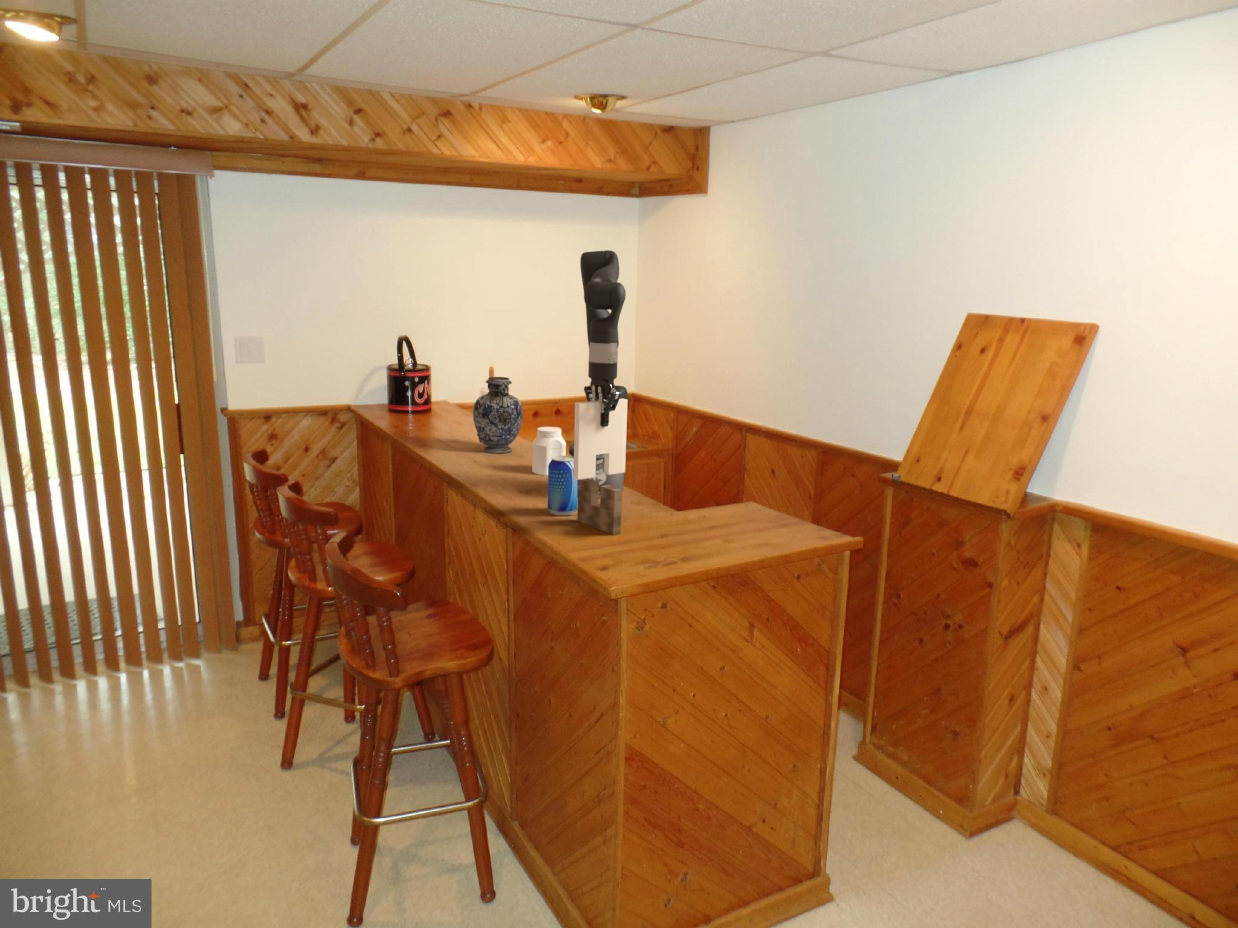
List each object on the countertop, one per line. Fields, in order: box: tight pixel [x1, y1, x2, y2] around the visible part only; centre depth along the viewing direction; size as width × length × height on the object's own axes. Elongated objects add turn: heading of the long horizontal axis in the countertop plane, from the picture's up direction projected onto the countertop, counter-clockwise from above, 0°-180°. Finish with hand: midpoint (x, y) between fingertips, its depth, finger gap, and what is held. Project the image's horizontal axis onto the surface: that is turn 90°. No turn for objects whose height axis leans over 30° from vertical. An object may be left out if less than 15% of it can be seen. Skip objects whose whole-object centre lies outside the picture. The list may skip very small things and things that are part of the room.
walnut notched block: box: [576, 478, 623, 536], centre depth 229 cm, size 16×2×12 cm, turn 39°
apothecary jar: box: [568, 442, 606, 499], centre depth 261 cm, size 12×12×18 cm
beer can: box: [547, 455, 578, 517], centre depth 242 cm, size 8×8×16 cm
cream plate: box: [573, 399, 629, 480], centre depth 225 cm, size 16×2×20 cm, turn 129°
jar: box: [531, 426, 567, 476], centre depth 290 cm, size 12×10×15 cm
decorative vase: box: [472, 376, 524, 455], centre depth 320 cm, size 21×19×28 cm
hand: (601, 425), depth 224 cm, fingers closed on cream plate, 2 cm apart
